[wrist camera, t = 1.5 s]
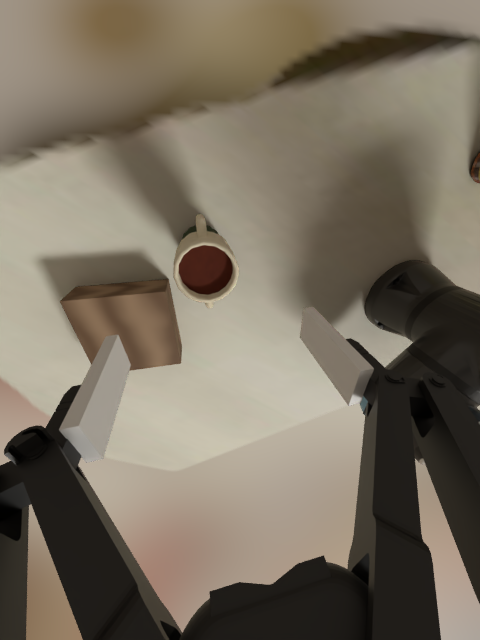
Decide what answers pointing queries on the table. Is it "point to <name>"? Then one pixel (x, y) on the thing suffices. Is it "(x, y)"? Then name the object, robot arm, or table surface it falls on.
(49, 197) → the table surface
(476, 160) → the sauce bottle
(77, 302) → the walnut stand
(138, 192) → the table surface
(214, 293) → the character mug
